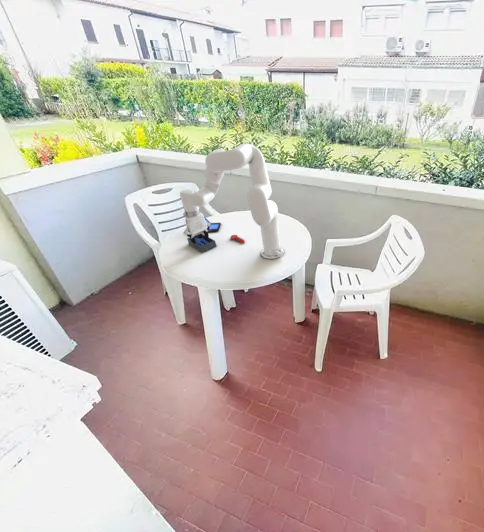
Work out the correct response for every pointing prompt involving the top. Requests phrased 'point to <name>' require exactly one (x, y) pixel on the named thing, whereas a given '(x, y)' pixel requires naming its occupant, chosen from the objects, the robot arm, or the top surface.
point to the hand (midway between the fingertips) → (200, 240)
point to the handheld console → (213, 226)
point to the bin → (205, 246)
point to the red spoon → (237, 238)
